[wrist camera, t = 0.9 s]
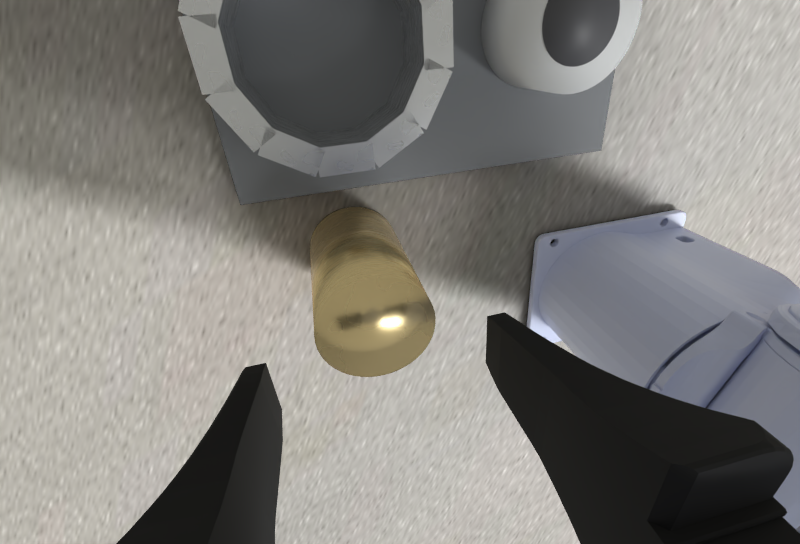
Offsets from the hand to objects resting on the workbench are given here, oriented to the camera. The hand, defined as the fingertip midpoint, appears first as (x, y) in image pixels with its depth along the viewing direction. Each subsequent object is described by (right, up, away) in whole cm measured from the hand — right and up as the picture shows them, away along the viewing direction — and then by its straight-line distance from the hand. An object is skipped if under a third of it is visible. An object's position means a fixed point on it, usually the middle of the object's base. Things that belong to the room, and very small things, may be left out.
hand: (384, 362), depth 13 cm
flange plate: (+1, +13, +3) cm, 13 cm away
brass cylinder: (-2, +4, +7) cm, 9 cm away
